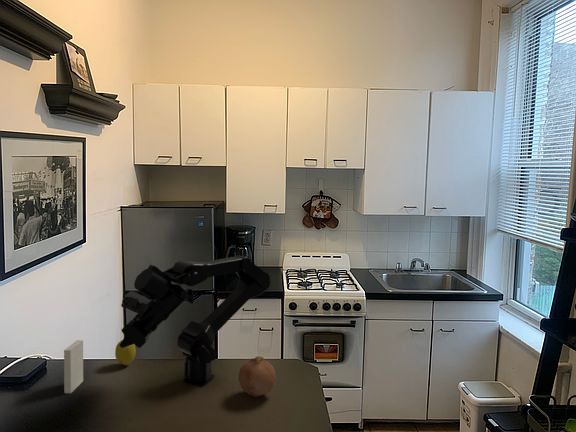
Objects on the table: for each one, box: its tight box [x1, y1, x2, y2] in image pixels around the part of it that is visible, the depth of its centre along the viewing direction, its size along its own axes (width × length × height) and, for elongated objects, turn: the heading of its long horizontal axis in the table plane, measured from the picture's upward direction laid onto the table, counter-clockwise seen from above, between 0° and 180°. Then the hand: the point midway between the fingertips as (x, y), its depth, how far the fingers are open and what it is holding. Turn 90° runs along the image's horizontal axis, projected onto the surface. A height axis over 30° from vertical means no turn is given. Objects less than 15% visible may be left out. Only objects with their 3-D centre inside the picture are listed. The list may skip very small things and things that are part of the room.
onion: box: [238, 355, 277, 398], centre depth 115 cm, size 10×9×10 cm
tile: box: [63, 339, 84, 394], centre depth 116 cm, size 2×7×11 cm, turn 0°
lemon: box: [114, 339, 137, 366], centre depth 131 cm, size 6×6×8 cm
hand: (120, 346), depth 116 cm, fingers closed
